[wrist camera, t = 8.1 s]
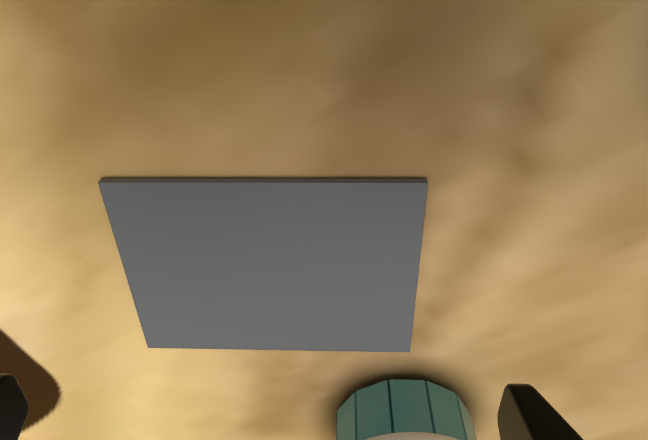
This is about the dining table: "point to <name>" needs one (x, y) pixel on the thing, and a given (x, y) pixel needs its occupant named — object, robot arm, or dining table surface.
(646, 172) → the dining table surface
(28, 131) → the dining table surface
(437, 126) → the dining table surface
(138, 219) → the mat
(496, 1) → the dining table surface
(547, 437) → the robot arm
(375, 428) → the bowl
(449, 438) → the lid
